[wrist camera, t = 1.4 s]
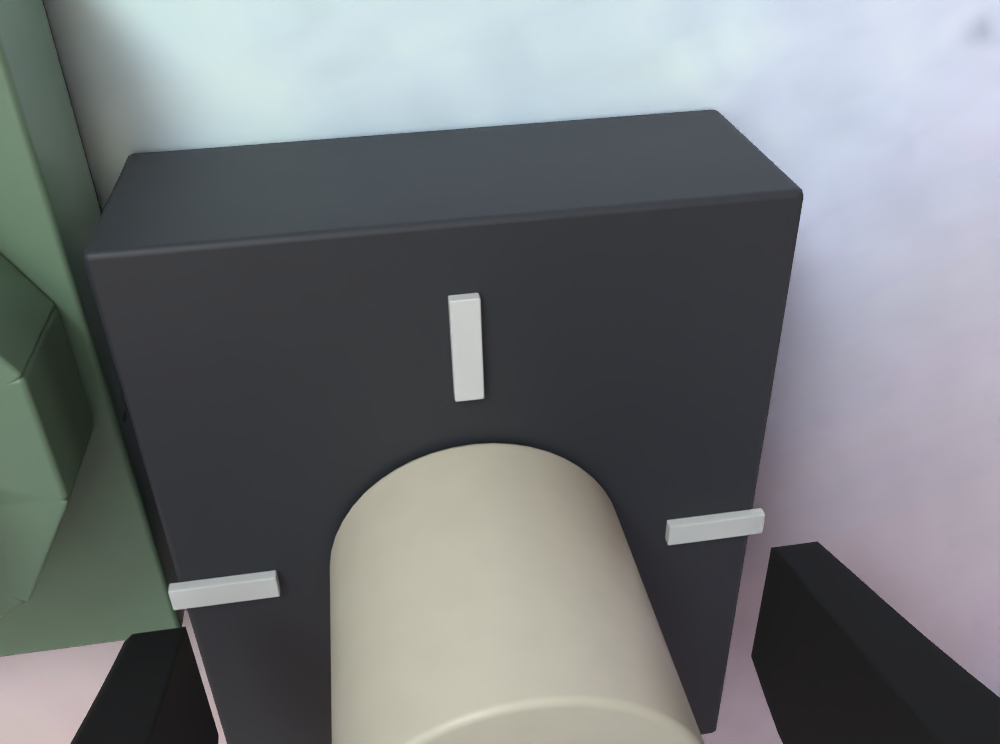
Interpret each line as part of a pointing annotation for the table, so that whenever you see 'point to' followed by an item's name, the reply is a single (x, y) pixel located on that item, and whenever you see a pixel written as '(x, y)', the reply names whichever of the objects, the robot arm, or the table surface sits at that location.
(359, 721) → the knob
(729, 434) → the control panel
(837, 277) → the table surface
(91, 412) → the button housing
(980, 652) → the table surface
